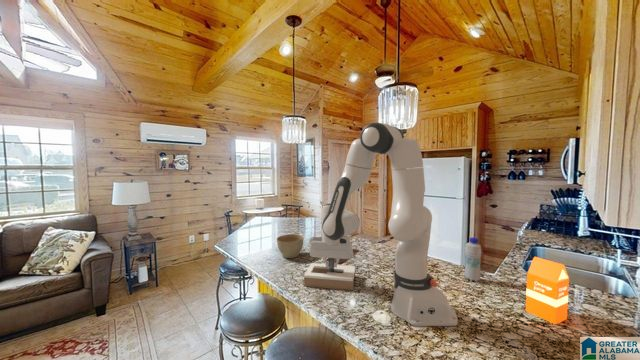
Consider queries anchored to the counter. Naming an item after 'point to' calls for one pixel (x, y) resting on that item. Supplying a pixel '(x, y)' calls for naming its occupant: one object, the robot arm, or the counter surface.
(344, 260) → the wooden tablet
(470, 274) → the bottle
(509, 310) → the counter surface
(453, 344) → the counter surface
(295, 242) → the planter bowl
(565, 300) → the orange juice
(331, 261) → the peg
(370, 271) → the counter surface
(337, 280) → the keyhole plate
